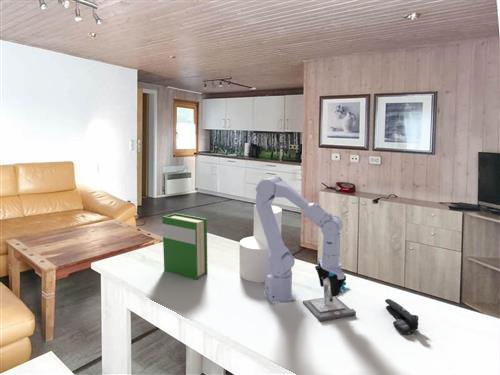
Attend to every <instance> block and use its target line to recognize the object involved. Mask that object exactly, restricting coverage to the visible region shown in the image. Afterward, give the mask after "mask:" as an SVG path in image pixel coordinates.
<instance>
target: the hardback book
mask: <svg viewBox="0 0 500 375" xmlns="http://www.w3.org/2000/svg"><path fill="white" fill-rule="evenodd" d="M162 237H163V238H162V244H163V245H162V247H163V248H162V249H163V271H164V272H168V273H170V274H174V275H178V276H181V277H184V278H188V279H192V280H195V281H197V280H198V278H199V277H200V276H202V275H208V218H205V217H199V216H193V215H187V214H183V213H176V212H174V213H170V214H167V215H164V216H162Z"/></svg>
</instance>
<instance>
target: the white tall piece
mask: <svg viewBox="0 0 500 375" xmlns="http://www.w3.org/2000/svg"><path fill="white" fill-rule="evenodd" d="M271 206H272V209H273V212H274V215H275V218H276V222H277V225H278V228H279V231H280V234H281V235H282V216H283V215H282V214H283V213H282V212H283V210H282V208H281V207H279V206H277V205H271ZM269 254H270V248H269V245H268V242H267V239H266V236H265V233H264V230H263V227H262V224H261V220H260V217H259V214H258V211H257V208H256V205H255V204H253V236H248V237H243V238H242V239H241V240H240V241H239V276H240V277H241V278H242V279H243V280H245V281H249V282H252V283H265V277H266V275H269V274H271V271H270V261H269Z"/></svg>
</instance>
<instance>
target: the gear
mask: <svg viewBox="0 0 500 375" xmlns="http://www.w3.org/2000/svg"><path fill="white" fill-rule="evenodd" d="M329 276H334V274H333V273H331V272H330V273H329ZM344 276H345V277H346V278H347V275H345V274H344ZM346 285H347V282H346V281H344V283H343V284H342V286H341V288H340V291H339V293H342V292H343V290H345V289H346V287H345V286H346Z"/></svg>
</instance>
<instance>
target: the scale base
mask: <svg viewBox="0 0 500 375" xmlns="http://www.w3.org/2000/svg"><path fill="white" fill-rule="evenodd" d="M317 299H324V297H321V298H320V297H319V298H313V299H307V300H302V304H303V305H304V306H305V307H306V308H307V309H308V310H309V311H310V313H312V315H314V317H315V318H316V319H317V320H318V321H319V322H320V323H322V322H328V321H334V320H341V319H348V318H352V317H356V316H357V311H356V310H355V309H353V308H350V307H348V306H347V304H345V303H344V302H343V301H342V300H341V299H340V298H338V296H335V299H336V300H337V301H339V302H340V303H341V304H342V305H343V306H344V307H345V308H346V309H345V310H339V311H333V312H326V313H319V312H318V311H317V310H316V309H315V308H314V307H313V306H312V305H311V304H310V303H309V301H310V300H317Z"/></svg>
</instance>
